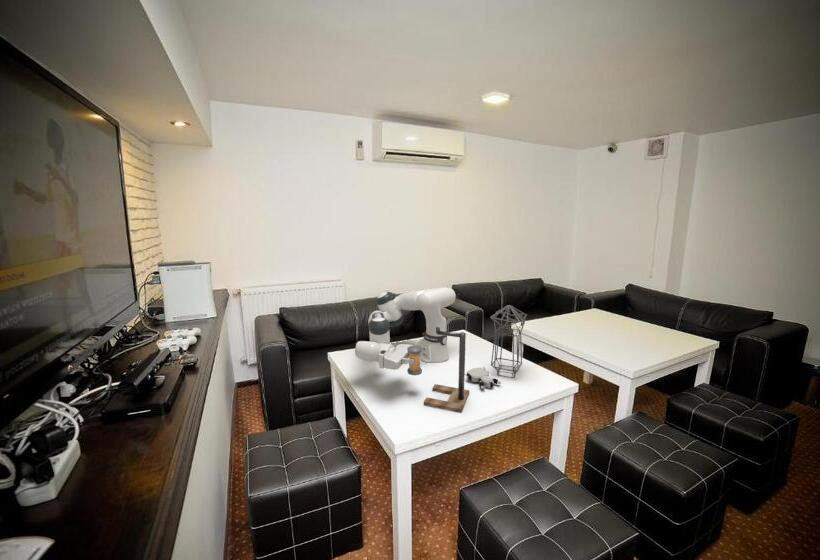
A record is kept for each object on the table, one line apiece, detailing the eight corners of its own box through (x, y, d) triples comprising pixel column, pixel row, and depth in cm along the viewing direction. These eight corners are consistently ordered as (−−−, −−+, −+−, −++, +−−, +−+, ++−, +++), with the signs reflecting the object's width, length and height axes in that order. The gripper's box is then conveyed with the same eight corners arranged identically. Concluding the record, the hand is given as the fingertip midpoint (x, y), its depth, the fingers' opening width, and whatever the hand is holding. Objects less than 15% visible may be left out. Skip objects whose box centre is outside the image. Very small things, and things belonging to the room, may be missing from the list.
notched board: (423, 405, 139) (423, 401, 139) (434, 387, 154) (434, 384, 154) (461, 412, 133) (461, 409, 133) (469, 393, 148) (469, 390, 148)
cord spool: (404, 372, 147) (404, 348, 145) (413, 367, 152) (413, 344, 149) (415, 376, 143) (415, 352, 141) (424, 371, 147) (425, 348, 145)
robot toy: (502, 388, 154) (481, 372, 167) (503, 379, 153) (482, 364, 166) (481, 394, 149) (461, 378, 162) (482, 385, 148) (462, 369, 161)
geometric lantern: (487, 376, 164) (489, 307, 158) (494, 364, 178) (497, 300, 172) (520, 383, 157) (523, 310, 151) (525, 370, 170) (529, 303, 165)
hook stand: (434, 394, 144) (435, 328, 138) (436, 392, 146) (436, 326, 141) (463, 400, 140) (465, 331, 134) (464, 397, 142) (466, 330, 136)
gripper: (396, 351, 161) (424, 355, 156) (378, 369, 142) (408, 375, 137) (396, 339, 159) (424, 343, 154) (377, 355, 141) (408, 360, 136)
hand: (416, 358), depth 146 cm, fingers closed on cord spool, 5 cm apart
